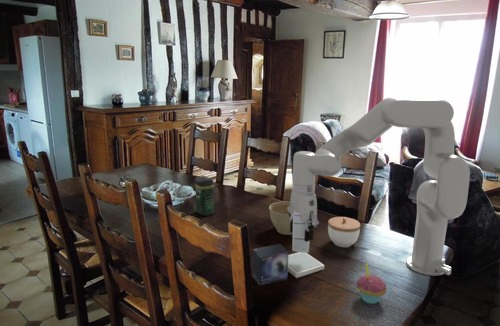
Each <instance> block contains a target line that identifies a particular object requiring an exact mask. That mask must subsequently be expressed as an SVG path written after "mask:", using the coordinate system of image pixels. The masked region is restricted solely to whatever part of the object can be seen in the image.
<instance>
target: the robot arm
mask: <svg viewBox="0 0 500 326" xmlns="http://www.w3.org/2000/svg"><path fill="white" fill-rule="evenodd" d="M454 114H455V111H454V108H453V106H452V105H451V103H450V102H449V101H447V100H446V99H438V98H431V97H420V98H416V99H412V98H411V99H410V98H408V99H407V98H400V97H387V98H384V99H382V100H381V101H379V103H377V104H376V105H375V106H374V107H372V108H371V109H370V110H369V111H367V113H366V114H364V115H363V116H362V117H361V118H359V119H358V120H357V121H355V122H354V123H353V124H352V125H350V126H349V127H347V128H345V129H344V130H342V131H340V132H339V133H337V134H335V135H334V136H332V137H331V138H330V139H329V140H328V141H326V142H325V143H324V144H323V145H321V146H320V148H318V149H317V150H316V152H312V151H305V150H300V151H296V152H294V155H293V160H292V161H293V163H292V185H291V188H292V189H291V194H290V199H289V200H290V201H289V202H290V206H288V207H287V209H288V212H289V213H288V214H289V217H290V219H289V220H290V221H291V222H290V232H293V211H296V212H299V213H300V219H301V221H302V222H303V223H304V224H305V227H306V230H305V239H304V240H305V241H306V242H307V241H309V242H310V241H313V240H314V231H315V229H316V228H318V225H320V222H319V220H318V216H317V215H318V202H317V195H316V193H315V186H316V175H317V176H324V177H333V176H335V175H337V174H339V173H340V171H341V170H342V162H341V159H340V158H341V157H343V156H344V155H345V154H347V153H348V152H350V151H352V150H353V151H354V149H355V150H356V149H359V148H364V147H368V146H370V145H372V144H373V143H374V142H375V141H377V139H379V138H380V137H381V136H382V135H383V134H385V133H386V132H387V131H389V130H390V129H391V128H392V127H397V128H407V129H408V128H409V129H410V128H411V129H422V130H423V132H424V138H425V139H424V140H425V141H424V152H423V153H424V154H423V166H422V167H423V171H424V173H426V175H427V176H429V177H430V178H433V179H434V180H433V179H431V180H425V181H424V182H422V183H421V184H420V185H419V187H417V188H418V189H417V192H416V220H415V228H414V236H413V246H412V250H411V251H412V253H411V256H408V257H407V258H406V265H407V267H408V268H410V270H412V271H414V272H416V273H418V274H421V275H426V276H432V277H436V276H442V275H444V274H445V275H447V276H450V275H451V274H452V270H453V269H452V268H453V267H451V266H449V265H447V264H446V259H445V258H444V257H443V256H444V247H445V241H446V234H447V229H448V220H454V219H456V218H459V217H460V216H461V215H462V214H463V213H464V211H465V209H466V206H467V202H468V196H469V187H470V179H471V178H470V177H471V171H470V170H471V169H470V167H469V164H468V162H467V161H466V160H465V159H464V158H462V157H461V156H458V155H456V154H455V141H456V140H455V138H456V136H455V127H454V125H453V122H452V120H453V118H454ZM309 217H310V221H308V220H309ZM308 223H310V226H309V225H308Z"/></svg>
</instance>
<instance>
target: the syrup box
mask: <svg viewBox="0 0 500 326" xmlns="http://www.w3.org/2000/svg"><path fill="white" fill-rule="evenodd" d="M308 221H310V217H309V220H308ZM308 225H309V226H310V223H308ZM305 230H306V227H305V224H304V223H303V222H302V221H301V219H300V213H299V212H296V211H293V234H292V246H291V247H292V248H291V249H292V252H295V253H298V252H304V253H307V254H309V251H310V241H307V242H306V241H305V240H304V239H305Z"/></svg>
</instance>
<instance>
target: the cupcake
mask: <svg viewBox="0 0 500 326" xmlns="http://www.w3.org/2000/svg"><path fill="white" fill-rule="evenodd" d="M365 270H366V271H365V272H366V274H365V275H362V276H360V277H359V278H358V279H357V280H356V287H357V289H358V291H359V292H360V296H361V300H363V301H364V302H365V303H368V304H373V305H374V304H377V303H378V302H379V300H380V298H381V297H383V296H384V295H386V293H387V284H386V283H385V281H384V280H383V279H381V278H380V277H378V276H376V275H372V274H370V271H369V263H367V261H365Z"/></svg>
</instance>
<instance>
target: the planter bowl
mask: <svg viewBox="0 0 500 326" xmlns="http://www.w3.org/2000/svg"><path fill="white" fill-rule="evenodd" d="M288 206H290V201H277V202H273V203H271V204H270V205H269V207H268V209H269V210H268V211H269V216H270V217H269V218H270V220H271V222H272V225H273V226H274V227H275V229H276V231H277V233H279V234H281V235H287V236H288V235H290V236H292V235H293V232H290V222H291V221H290V220H289V219H290V217H289V214H288V213H289V212H288V209H287V207H288Z"/></svg>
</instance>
